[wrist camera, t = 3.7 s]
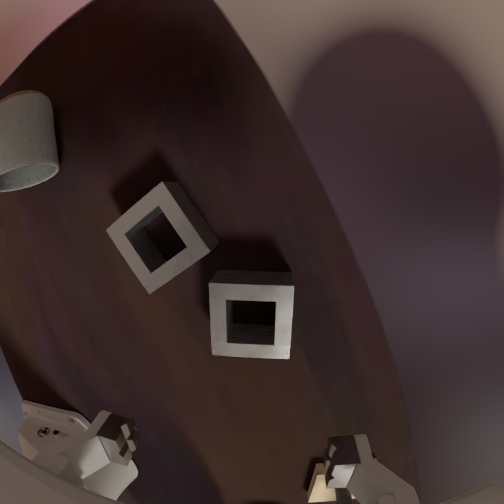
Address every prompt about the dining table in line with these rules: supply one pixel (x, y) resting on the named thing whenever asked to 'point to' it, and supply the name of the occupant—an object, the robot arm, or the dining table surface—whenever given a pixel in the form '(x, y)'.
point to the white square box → (143, 248)
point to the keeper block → (321, 494)
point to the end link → (251, 335)
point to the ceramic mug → (26, 140)
